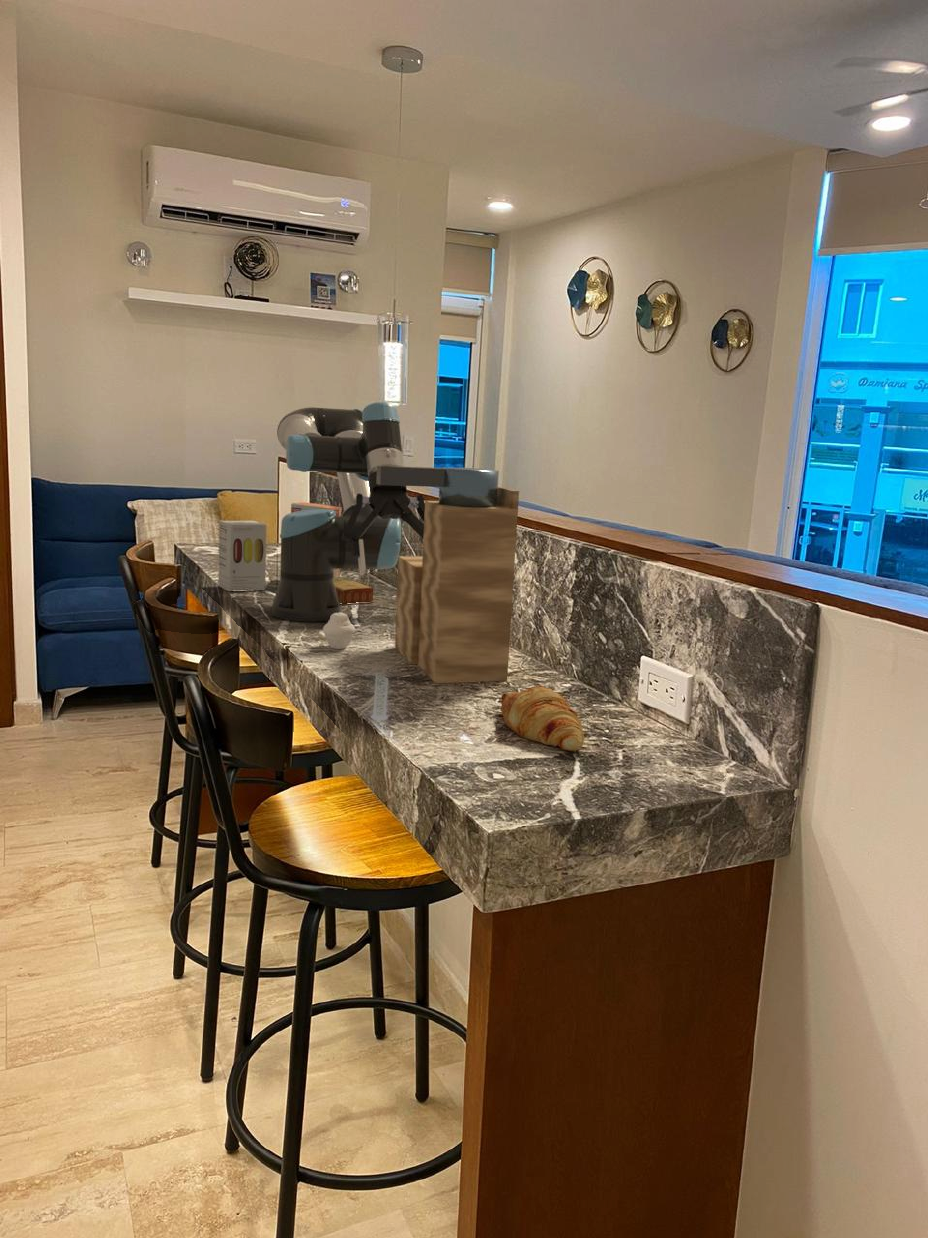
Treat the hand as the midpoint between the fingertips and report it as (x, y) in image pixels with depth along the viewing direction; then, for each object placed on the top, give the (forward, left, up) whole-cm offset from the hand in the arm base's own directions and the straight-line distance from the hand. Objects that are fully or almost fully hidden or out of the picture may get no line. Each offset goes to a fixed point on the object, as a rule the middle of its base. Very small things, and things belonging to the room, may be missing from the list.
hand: (396, 572), depth 184 cm
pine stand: (+17, +7, -14) cm, 23 cm away
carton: (-48, -2, -15) cm, 50 cm away
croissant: (+56, +9, -15) cm, 58 cm away
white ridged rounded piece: (+2, -11, -15) cm, 19 cm away
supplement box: (-61, -25, -15) cm, 68 cm away
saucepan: (+23, +1, +16) cm, 28 cm away
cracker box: (-69, -5, -15) cm, 71 cm away
